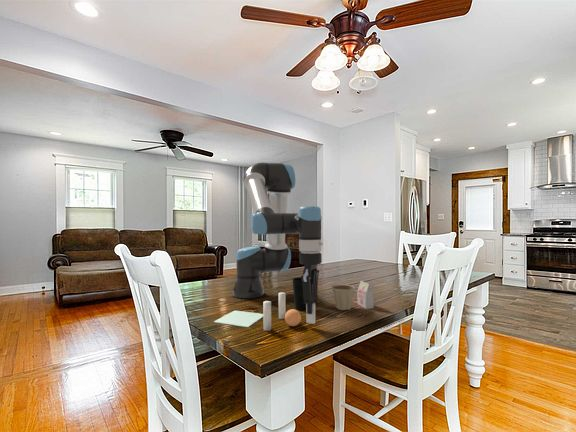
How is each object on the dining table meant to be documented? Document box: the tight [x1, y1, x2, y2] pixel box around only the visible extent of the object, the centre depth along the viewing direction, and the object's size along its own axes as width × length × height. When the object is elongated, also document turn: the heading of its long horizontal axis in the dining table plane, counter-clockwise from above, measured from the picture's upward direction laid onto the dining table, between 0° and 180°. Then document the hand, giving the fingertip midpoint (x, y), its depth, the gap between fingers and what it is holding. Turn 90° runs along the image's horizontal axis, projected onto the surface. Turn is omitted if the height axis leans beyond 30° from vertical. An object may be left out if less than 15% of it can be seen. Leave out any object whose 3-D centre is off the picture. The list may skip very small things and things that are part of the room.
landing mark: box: [213, 310, 263, 328], centre depth 106 cm, size 14×14×1 cm
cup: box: [291, 276, 306, 311], centre depth 118 cm, size 8×8×12 cm
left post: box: [262, 300, 272, 332], centre depth 95 cm, size 3×3×9 cm
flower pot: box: [331, 284, 356, 311], centre depth 118 cm, size 9×9×9 cm
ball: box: [284, 308, 302, 327], centre depth 98 cm, size 6×6×6 cm
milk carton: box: [356, 280, 374, 310], centre depth 121 cm, size 4×7×10 cm, turn 17°
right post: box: [278, 291, 287, 320], centre depth 107 cm, size 3×3×9 cm
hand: (310, 322), depth 96 cm, fingers closed
